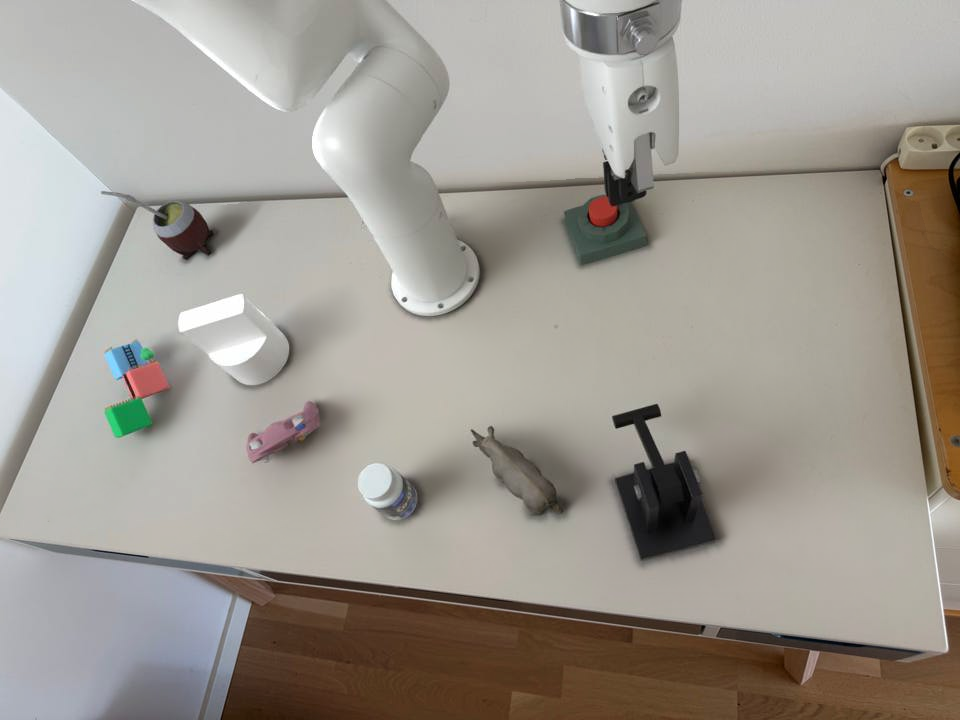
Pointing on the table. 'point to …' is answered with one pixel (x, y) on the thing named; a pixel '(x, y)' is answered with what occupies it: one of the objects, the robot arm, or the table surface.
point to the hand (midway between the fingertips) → (625, 195)
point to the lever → (653, 454)
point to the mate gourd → (177, 226)
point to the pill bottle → (387, 491)
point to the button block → (604, 232)
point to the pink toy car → (282, 433)
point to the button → (602, 212)
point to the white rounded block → (237, 338)
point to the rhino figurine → (519, 474)
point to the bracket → (664, 512)
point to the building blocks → (133, 386)
